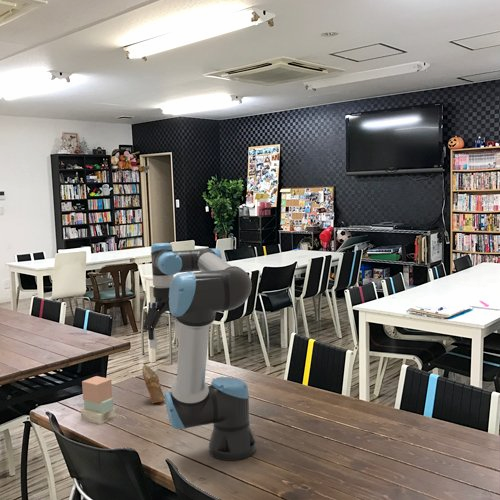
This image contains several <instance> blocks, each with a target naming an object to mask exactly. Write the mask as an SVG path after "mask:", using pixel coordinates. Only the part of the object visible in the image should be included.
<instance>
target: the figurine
mask: <svg viewBox="0 0 500 500" xmlns="http://www.w3.org/2000/svg"><path fill="white" fill-rule="evenodd" d="M142 376H143V381H144V382H145V387H146V390H147V391H148V393H149V397H150V400H151V401H150V402H151V404H154V403H162V402H165V395H164V393H163V391H162V387H161V386H162V385H161V383H160V379H159V375H158V374H157V373H156V372H155V371H154V370H153V369H152V368H151V367H149V366H148V365H146V364H143V365H142Z"/></svg>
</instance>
